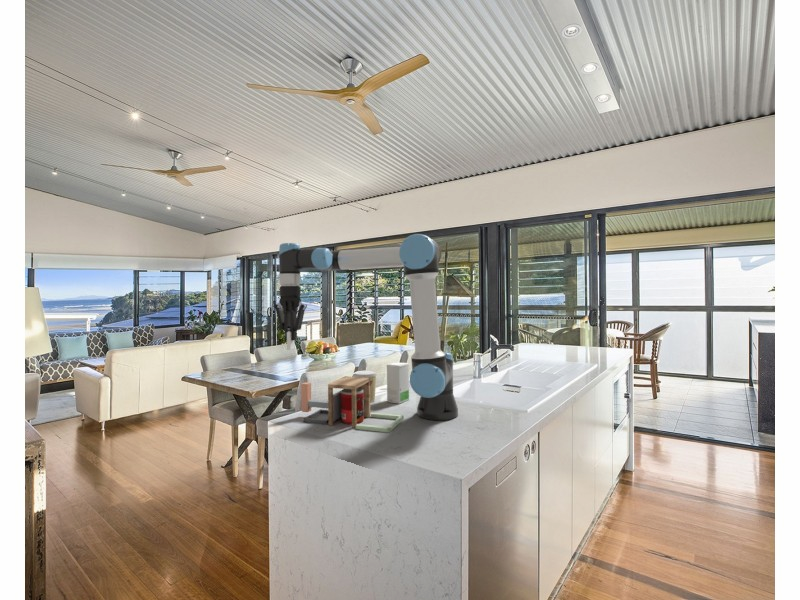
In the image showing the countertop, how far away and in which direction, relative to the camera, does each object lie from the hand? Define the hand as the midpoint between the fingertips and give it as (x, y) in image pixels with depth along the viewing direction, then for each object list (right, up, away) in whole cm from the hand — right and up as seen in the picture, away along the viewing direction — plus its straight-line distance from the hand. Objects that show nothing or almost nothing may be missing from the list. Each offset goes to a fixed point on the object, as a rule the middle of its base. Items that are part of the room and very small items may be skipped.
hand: (290, 349), depth 155 cm
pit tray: (+13, -25, -3) cm, 28 cm away
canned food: (+24, -25, -7) cm, 35 cm away
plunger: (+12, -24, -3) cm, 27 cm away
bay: (+33, -25, -10) cm, 43 cm away
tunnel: (+23, -25, -7) cm, 34 cm away
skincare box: (+40, -24, +19) cm, 50 cm away
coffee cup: (+26, -24, +20) cm, 41 cm away
